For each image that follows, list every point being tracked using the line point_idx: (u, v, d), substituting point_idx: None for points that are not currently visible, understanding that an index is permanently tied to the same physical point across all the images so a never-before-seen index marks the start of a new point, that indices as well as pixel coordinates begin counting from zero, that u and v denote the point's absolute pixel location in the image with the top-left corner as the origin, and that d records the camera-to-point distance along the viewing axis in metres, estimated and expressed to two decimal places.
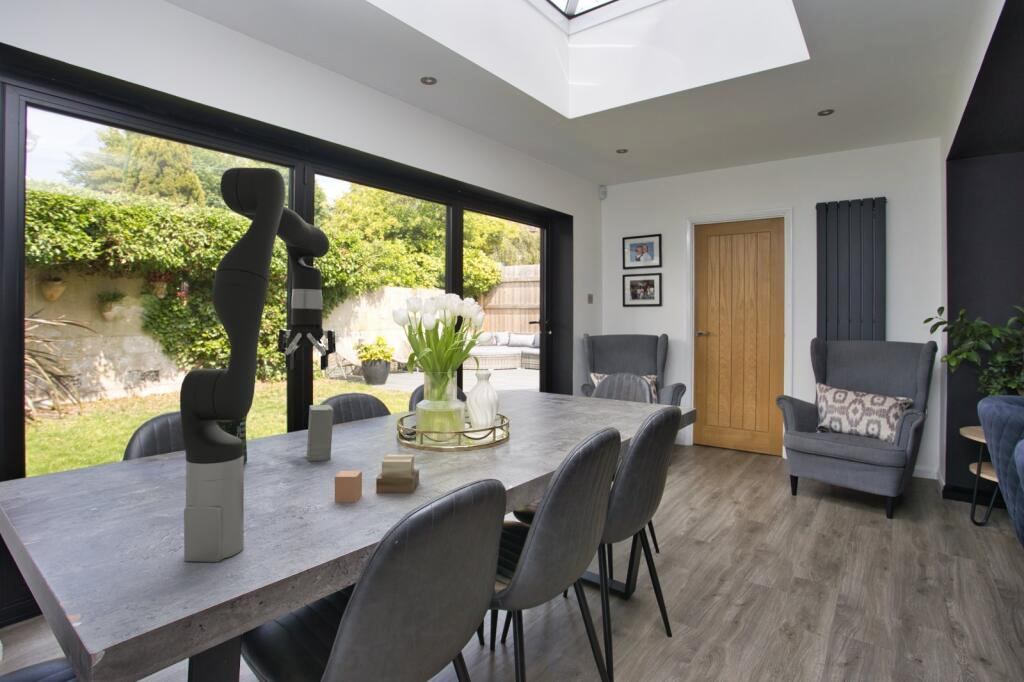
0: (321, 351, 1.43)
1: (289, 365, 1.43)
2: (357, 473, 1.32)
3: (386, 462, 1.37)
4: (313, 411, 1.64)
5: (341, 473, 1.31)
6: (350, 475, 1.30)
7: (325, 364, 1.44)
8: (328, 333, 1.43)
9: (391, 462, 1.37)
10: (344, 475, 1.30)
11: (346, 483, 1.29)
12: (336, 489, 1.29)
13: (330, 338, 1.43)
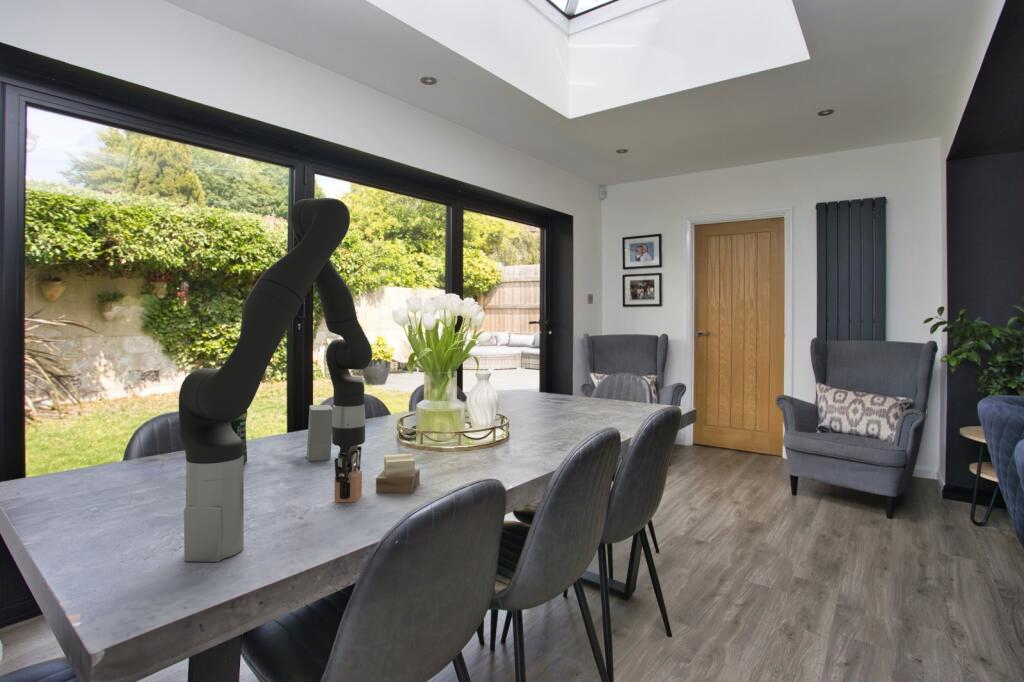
0: (356, 470, 1.34)
1: (349, 493, 1.29)
2: (357, 473, 1.32)
3: (390, 462, 1.36)
4: (313, 411, 1.64)
5: None
6: None
7: None
8: (360, 449, 1.37)
9: (396, 462, 1.37)
10: None
11: None
12: (336, 489, 1.29)
13: (360, 455, 1.37)
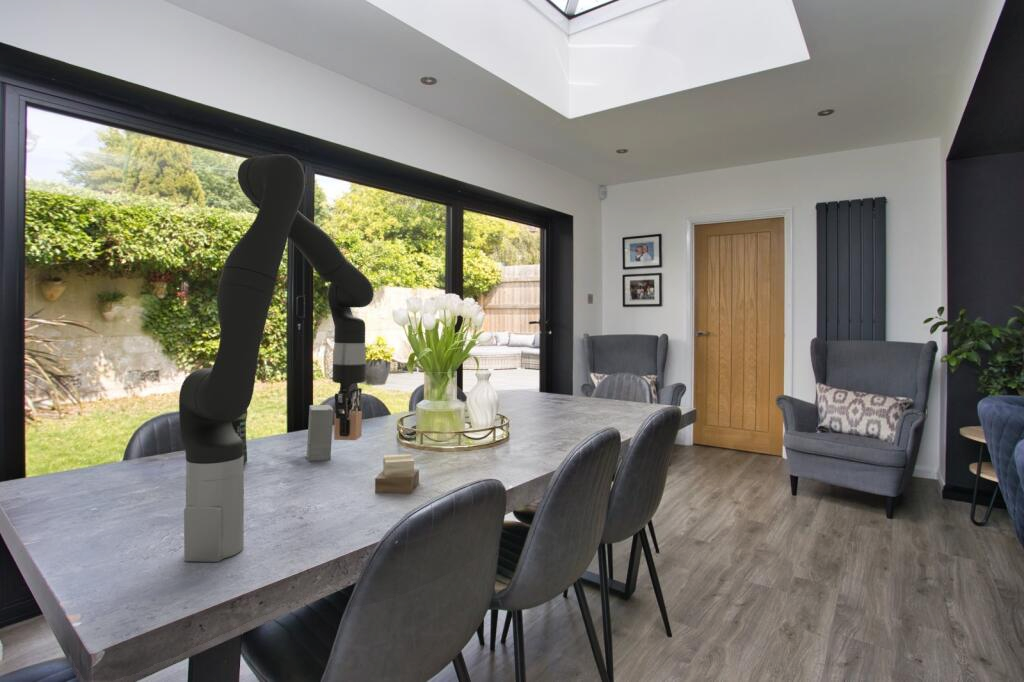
0: None
1: (349, 431, 1.28)
2: (357, 412, 1.31)
3: (390, 463, 1.36)
4: (313, 411, 1.64)
5: None
6: None
7: None
8: (360, 391, 1.36)
9: (395, 462, 1.36)
10: None
11: None
12: (336, 427, 1.28)
13: (360, 396, 1.37)
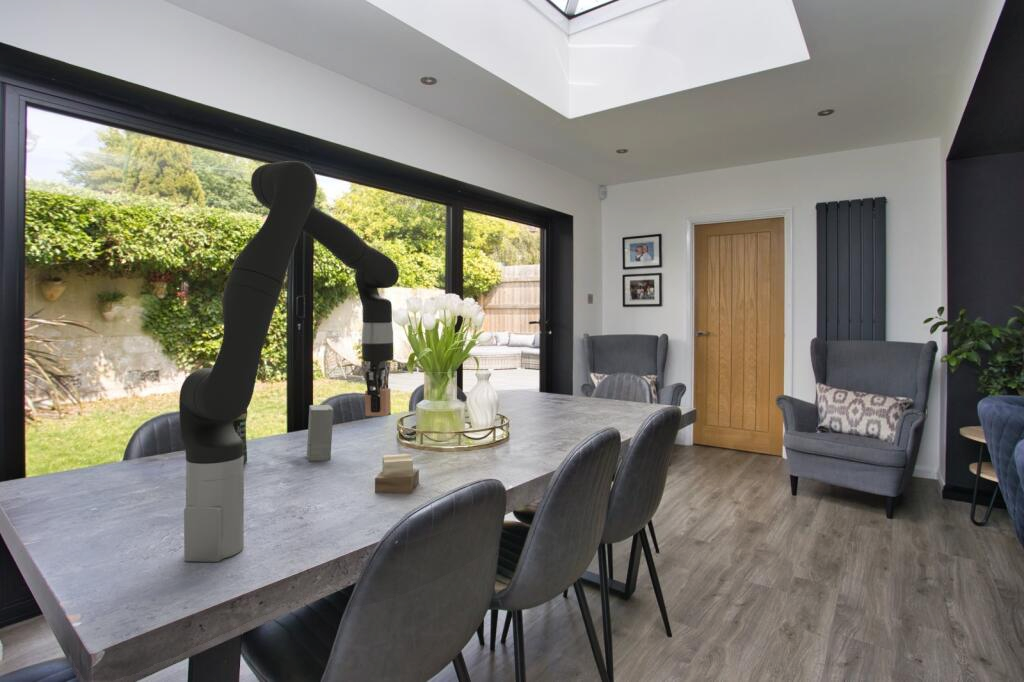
0: None
1: None
2: (386, 389, 1.36)
3: (389, 462, 1.36)
4: (313, 411, 1.64)
5: None
6: None
7: None
8: (388, 369, 1.41)
9: (394, 462, 1.36)
10: None
11: None
12: (367, 403, 1.33)
13: (388, 374, 1.42)
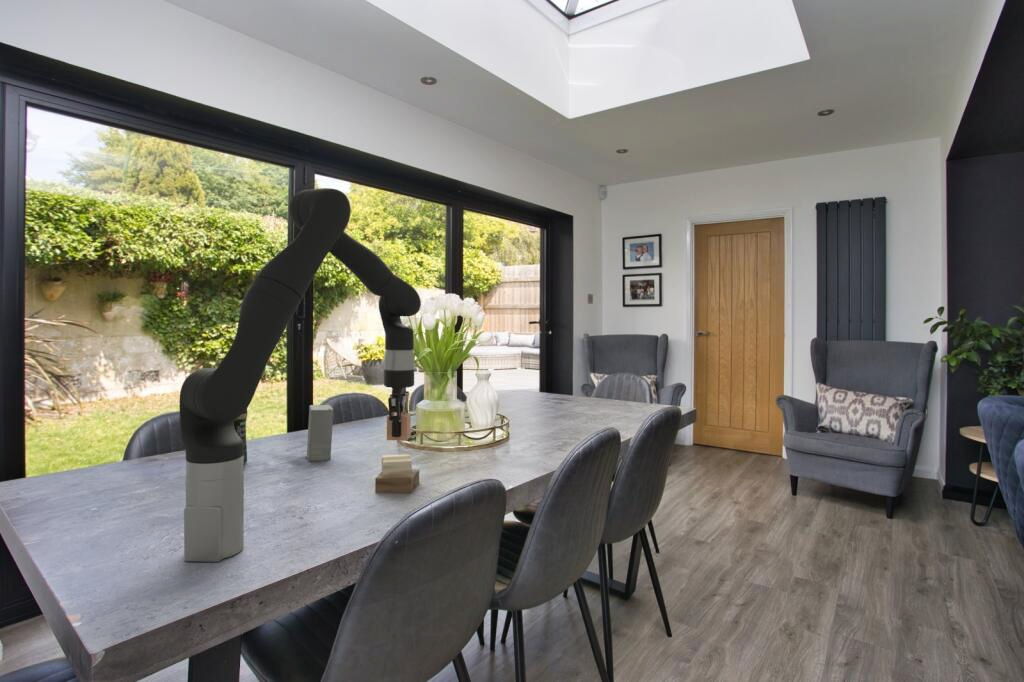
0: None
1: None
2: (407, 414, 1.40)
3: (387, 463, 1.36)
4: (313, 411, 1.64)
5: None
6: None
7: None
8: (408, 394, 1.45)
9: (392, 462, 1.36)
10: (395, 415, 1.38)
11: None
12: (388, 428, 1.37)
13: None
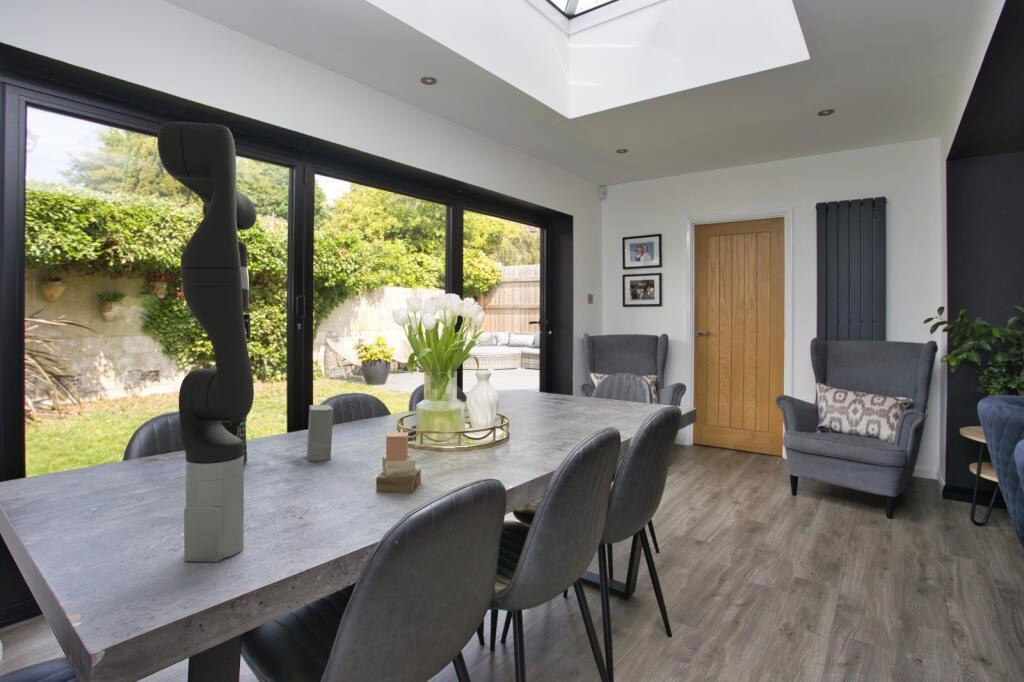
0: None
1: None
2: (405, 434, 1.40)
3: (391, 462, 1.36)
4: (313, 411, 1.64)
5: (390, 434, 1.40)
6: (400, 435, 1.39)
7: None
8: (248, 317, 1.30)
9: (396, 462, 1.37)
10: (394, 435, 1.38)
11: (397, 442, 1.38)
12: (388, 448, 1.37)
13: (249, 323, 1.30)
